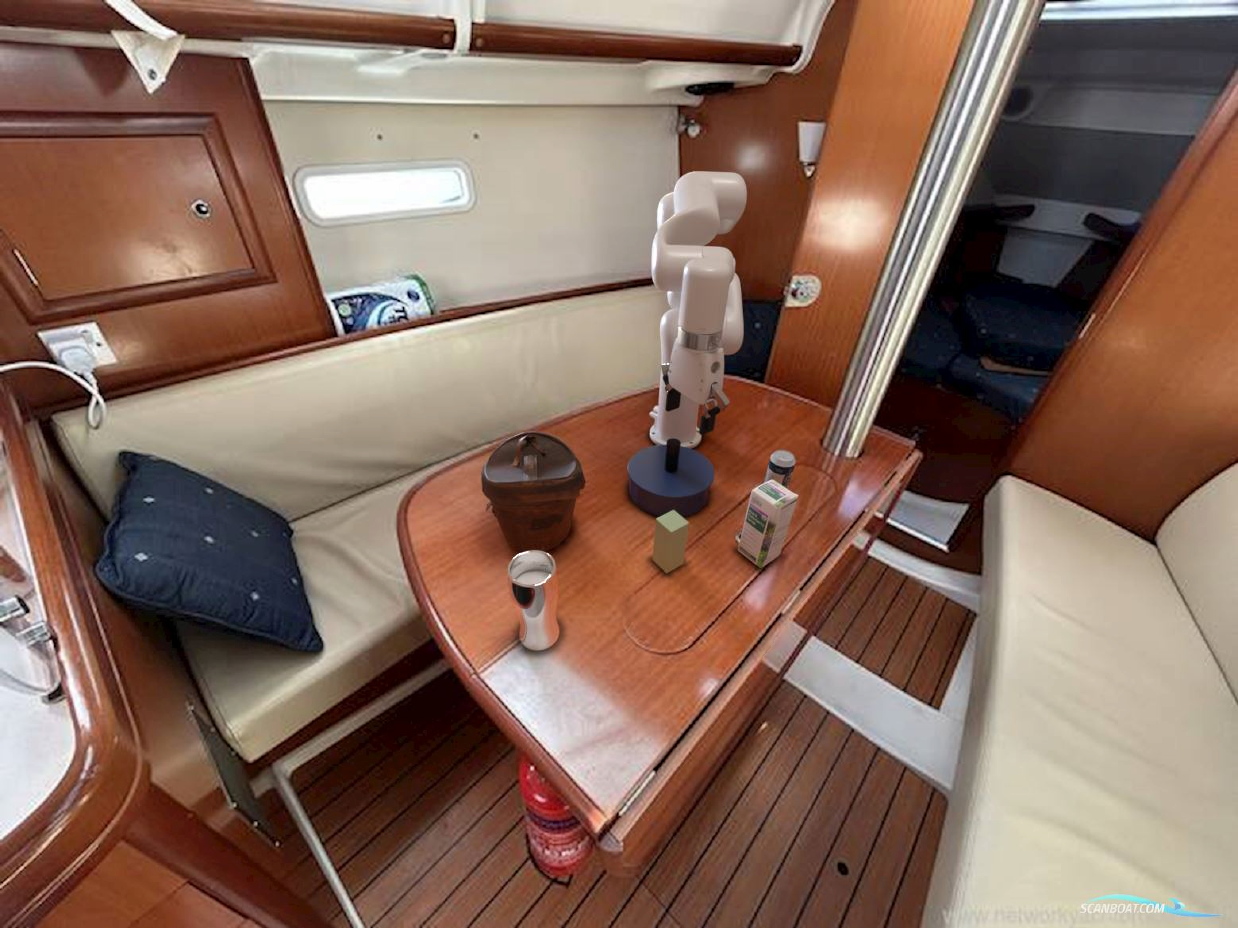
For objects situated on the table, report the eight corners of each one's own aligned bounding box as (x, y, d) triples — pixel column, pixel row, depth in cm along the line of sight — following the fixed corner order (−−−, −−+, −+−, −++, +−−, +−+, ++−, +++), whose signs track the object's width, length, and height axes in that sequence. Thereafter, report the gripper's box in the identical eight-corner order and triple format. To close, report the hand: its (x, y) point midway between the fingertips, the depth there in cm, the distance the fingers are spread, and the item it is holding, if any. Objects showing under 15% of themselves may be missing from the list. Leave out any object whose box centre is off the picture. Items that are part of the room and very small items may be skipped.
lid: (610, 466, 104) (611, 435, 100) (674, 440, 113) (677, 410, 108) (665, 513, 93) (668, 481, 88) (731, 480, 102) (738, 449, 97)
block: (652, 559, 90) (655, 518, 84) (668, 550, 92) (673, 509, 86) (666, 573, 88) (671, 532, 82) (683, 563, 90) (689, 522, 84)
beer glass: (518, 615, 80) (508, 549, 71) (562, 613, 80) (557, 547, 72) (514, 655, 74) (503, 588, 65) (562, 652, 75) (557, 586, 66)
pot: (613, 484, 107) (613, 464, 104) (672, 458, 115) (675, 439, 112) (663, 529, 96) (665, 508, 93) (725, 497, 105) (729, 476, 101)
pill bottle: (783, 512, 101) (797, 464, 94) (759, 508, 102) (771, 460, 95) (782, 497, 105) (795, 450, 98) (759, 493, 106) (770, 446, 99)
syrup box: (735, 550, 92) (749, 489, 84) (757, 537, 95) (772, 476, 87) (760, 569, 89) (777, 508, 80) (781, 555, 92) (800, 494, 83)
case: (542, 483, 107) (536, 410, 96) (606, 531, 96) (607, 455, 85) (468, 522, 97) (451, 446, 86) (530, 581, 85) (520, 502, 75)
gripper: (752, 349, 82) (735, 435, 93) (682, 315, 93) (674, 396, 104) (718, 360, 79) (705, 448, 89) (650, 324, 90) (645, 406, 100)
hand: (688, 420), depth 96 cm, fingers open, 9 cm apart
